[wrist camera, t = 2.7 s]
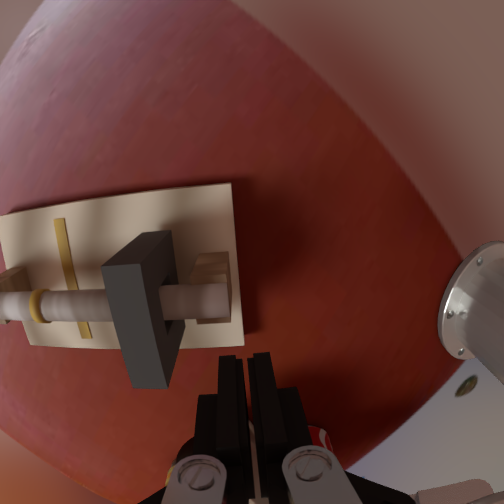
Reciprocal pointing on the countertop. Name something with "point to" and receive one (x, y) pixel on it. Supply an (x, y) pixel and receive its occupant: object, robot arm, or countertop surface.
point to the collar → (144, 308)
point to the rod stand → (107, 245)
